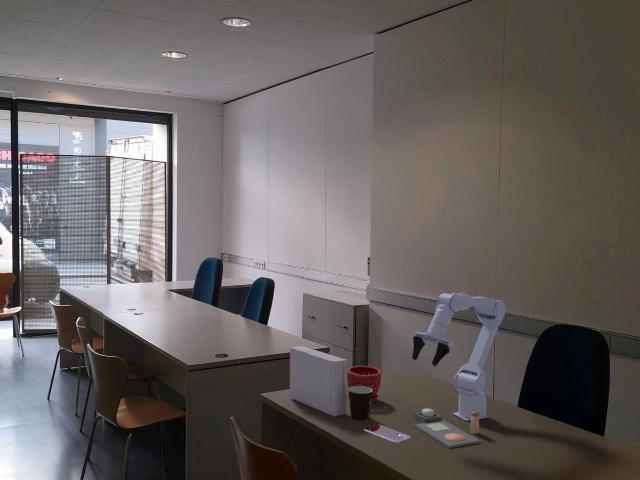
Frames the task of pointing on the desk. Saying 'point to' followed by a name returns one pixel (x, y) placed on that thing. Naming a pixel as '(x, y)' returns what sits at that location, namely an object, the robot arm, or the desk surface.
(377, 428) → the mobile phone
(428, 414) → the button
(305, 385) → the game console
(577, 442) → the desk surface
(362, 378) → the plant pot
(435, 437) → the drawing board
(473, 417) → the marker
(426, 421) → the button housing
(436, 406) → the desk surface
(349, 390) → the coffee mug
